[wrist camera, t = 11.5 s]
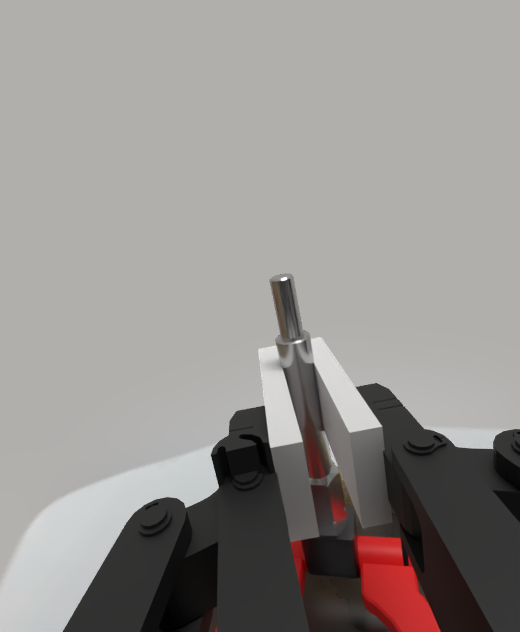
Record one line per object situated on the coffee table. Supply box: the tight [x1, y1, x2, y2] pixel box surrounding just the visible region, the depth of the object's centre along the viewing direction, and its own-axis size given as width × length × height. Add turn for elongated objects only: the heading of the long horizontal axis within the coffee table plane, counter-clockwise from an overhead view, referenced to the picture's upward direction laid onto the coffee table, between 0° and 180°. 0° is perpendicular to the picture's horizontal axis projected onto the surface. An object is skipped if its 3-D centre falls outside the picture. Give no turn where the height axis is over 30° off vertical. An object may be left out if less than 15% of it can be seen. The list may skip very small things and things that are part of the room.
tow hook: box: [214, 274, 441, 632], centre depth 10 cm, size 8×13×9 cm
